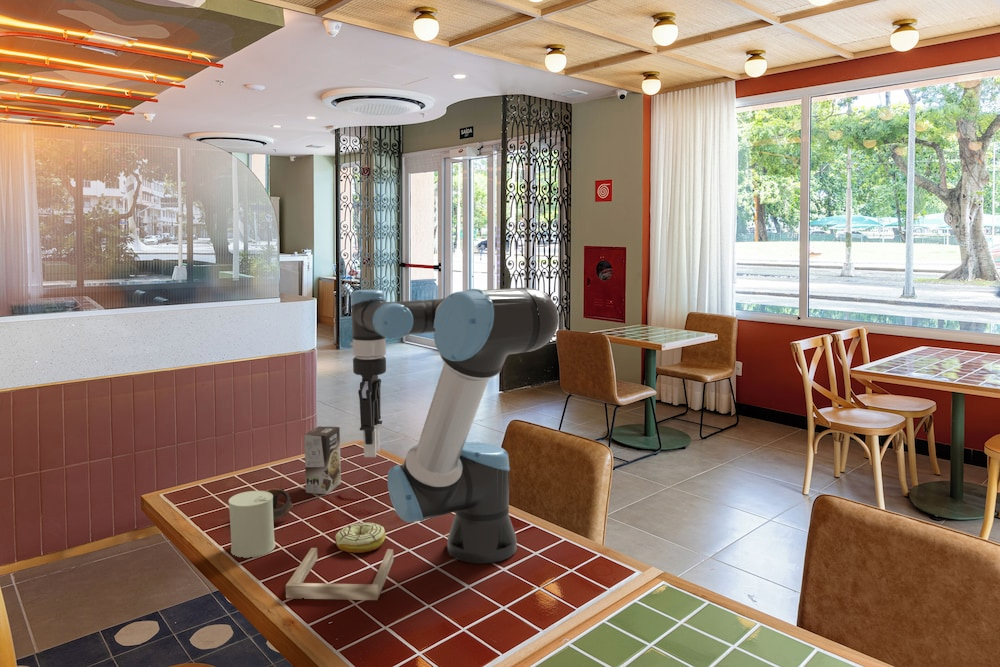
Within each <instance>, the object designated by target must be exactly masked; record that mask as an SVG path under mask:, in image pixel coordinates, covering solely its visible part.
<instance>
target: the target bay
mask: <svg viewBox="0 0 1000 667" xmlns="http://www.w3.org/2000/svg"><path fill="white" fill-rule="evenodd" d="M317 560H318V548H317V547H311V548H310V549H309V550H308V552H307V554H306V555H305V556H304V558H303V560H302V561H301V563H300V564H299V566H298V567H297V568H296V570H295V571H294V573H292V576H291V577H290V579H288V581H287V583H286V584H285V586H284V588H285V598H286V599H300V600H301V599H302V598H304V599H305V600H307V599H308V600H347V601H348V600H350V601H353V600H354V601H357V600H358V601H378V599H379V598H380V594H381V592H382V590H383V587H384V585H385V582H386V580H387V578H388V576H389V573H390V570H391V568H392V565H393V562H394V560H395V559H394V549H392V548H388V549H386V552H385V554H384V557H383V558H382V562H381V563H380V566H379V568H378V570H377V572H376V575H375V577H374V579H373V582H372V583H371V584H370V583H369V584H367V583H322V582H321V583H318V582H317V583H316V582H314V583H313V582H304V581H305V579H306V578H307V576H308V574H309V573H310V572H311V570H312V569H313V567H314V565H315V564H316V563H317ZM304 599H303V600H304Z"/></svg>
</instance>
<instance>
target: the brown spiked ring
mask: <svg viewBox="0 0 1000 667" xmlns="http://www.w3.org/2000/svg"><path fill="white" fill-rule="evenodd" d="M264 491H266V492H269V493H271V494H272V495H273V522H275V521H277V520H278V521H279V520H280V519H282V518H284V517H286V516H287V514H289V513H290V511H291V509H293V508H294V505H293V503H292V501H291V497H290V494H289V492H288V491H286V490H284V489H282V488H277V487H272V488H268V489H265V490H264ZM280 496H284V497H285V498H286V502H285V503H284V502H282V501H279V500H278V499H279V497H280Z"/></svg>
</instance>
